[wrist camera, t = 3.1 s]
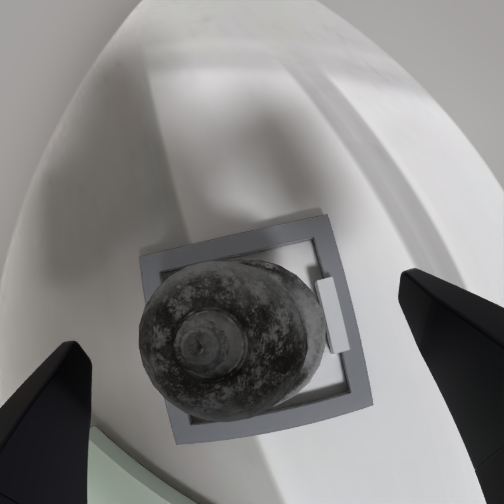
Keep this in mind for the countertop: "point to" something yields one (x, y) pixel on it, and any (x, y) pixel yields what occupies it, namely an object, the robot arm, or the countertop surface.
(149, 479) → the tray
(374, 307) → the countertop surface
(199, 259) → the socket
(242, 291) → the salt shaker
